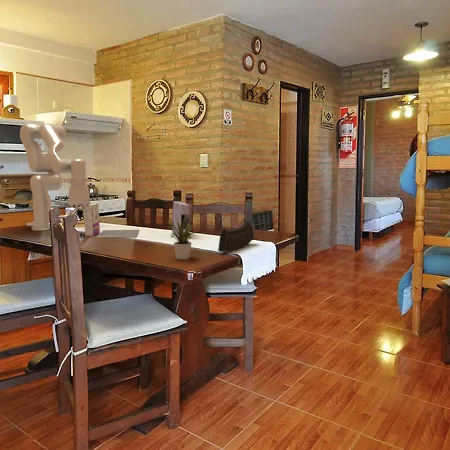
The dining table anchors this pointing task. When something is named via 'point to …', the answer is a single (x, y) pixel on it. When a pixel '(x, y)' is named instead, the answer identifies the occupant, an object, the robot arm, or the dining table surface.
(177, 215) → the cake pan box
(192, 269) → the dining table surface
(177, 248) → the house plant
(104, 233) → the mat
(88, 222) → the candy bar box
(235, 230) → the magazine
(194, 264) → the dining table surface
